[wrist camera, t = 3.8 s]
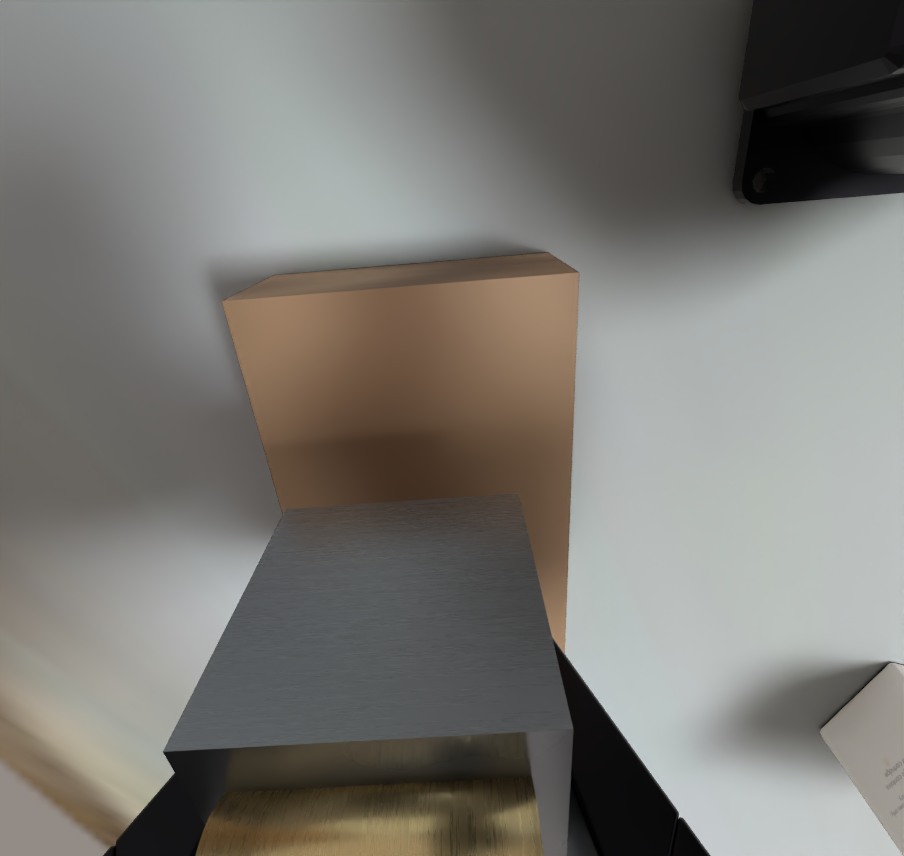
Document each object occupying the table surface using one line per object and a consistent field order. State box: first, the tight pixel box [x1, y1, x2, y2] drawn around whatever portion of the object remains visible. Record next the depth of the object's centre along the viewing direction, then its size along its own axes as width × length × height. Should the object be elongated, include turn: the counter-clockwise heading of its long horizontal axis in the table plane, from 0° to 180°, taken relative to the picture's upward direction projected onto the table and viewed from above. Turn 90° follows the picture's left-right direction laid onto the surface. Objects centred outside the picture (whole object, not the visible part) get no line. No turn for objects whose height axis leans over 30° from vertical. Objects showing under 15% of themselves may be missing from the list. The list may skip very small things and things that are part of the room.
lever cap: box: [163, 493, 573, 856], centre depth 7 cm, size 4×6×5 cm, turn 4°
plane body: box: [222, 253, 579, 654], centre depth 13 cm, size 7×16×6 cm, turn 4°
